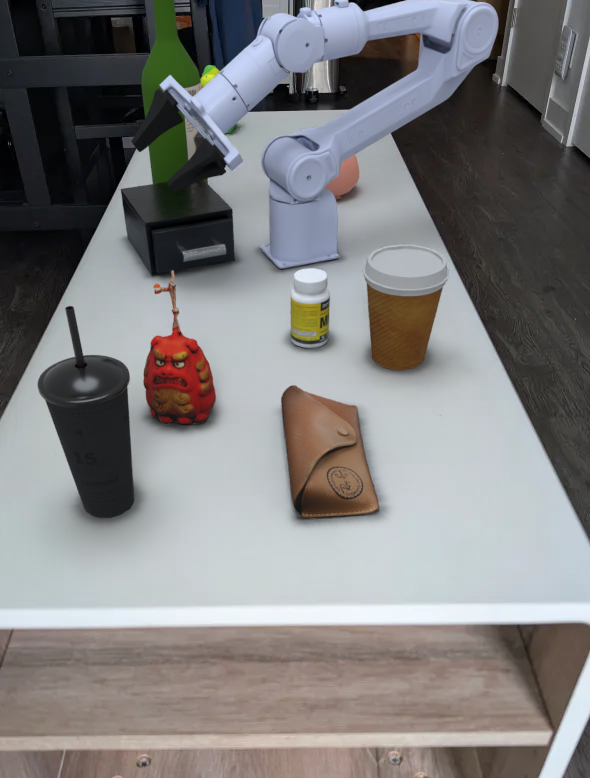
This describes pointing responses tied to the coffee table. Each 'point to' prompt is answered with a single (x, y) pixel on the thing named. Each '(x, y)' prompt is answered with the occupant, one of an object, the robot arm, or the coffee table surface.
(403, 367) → the disposable coffee cup
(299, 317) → the supplement bottle
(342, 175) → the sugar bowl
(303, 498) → the sunglasses case
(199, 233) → the drawer
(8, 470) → the coffee table surface
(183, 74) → the wine bottle
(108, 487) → the drinking cup
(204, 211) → the black drawer box
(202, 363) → the red clay folk toy
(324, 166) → the robot arm
